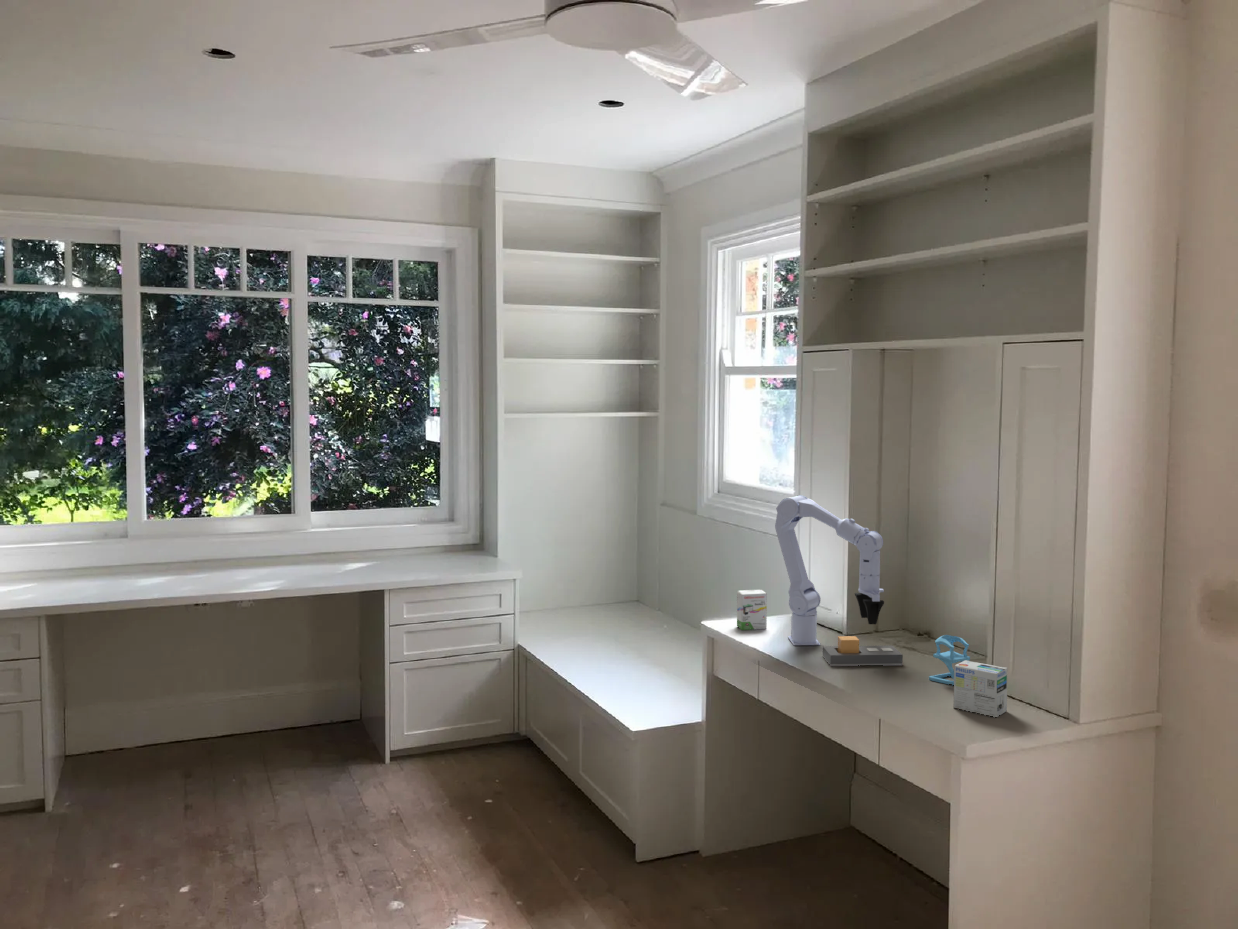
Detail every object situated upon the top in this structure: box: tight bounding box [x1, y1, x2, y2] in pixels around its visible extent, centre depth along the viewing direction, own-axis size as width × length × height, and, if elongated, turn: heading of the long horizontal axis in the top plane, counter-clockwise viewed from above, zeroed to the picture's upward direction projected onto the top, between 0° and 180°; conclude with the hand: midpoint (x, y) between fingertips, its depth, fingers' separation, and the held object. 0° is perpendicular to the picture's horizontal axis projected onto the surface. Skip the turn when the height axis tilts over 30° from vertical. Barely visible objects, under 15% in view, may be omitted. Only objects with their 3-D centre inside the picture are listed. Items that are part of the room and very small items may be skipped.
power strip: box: [822, 644, 904, 667], centre depth 277 cm, size 10×20×3 cm, turn 91°
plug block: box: [837, 635, 860, 653], centre depth 277 cm, size 4×5×6 cm
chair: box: [928, 634, 971, 686], centre depth 257 cm, size 8×8×12 cm
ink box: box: [736, 589, 768, 631], centre depth 314 cm, size 8×5×12 cm, turn 101°
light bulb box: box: [952, 660, 1008, 718], centre depth 236 cm, size 11×7×11 cm, turn 48°
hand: (868, 620), depth 285 cm, fingers open, 7 cm apart
